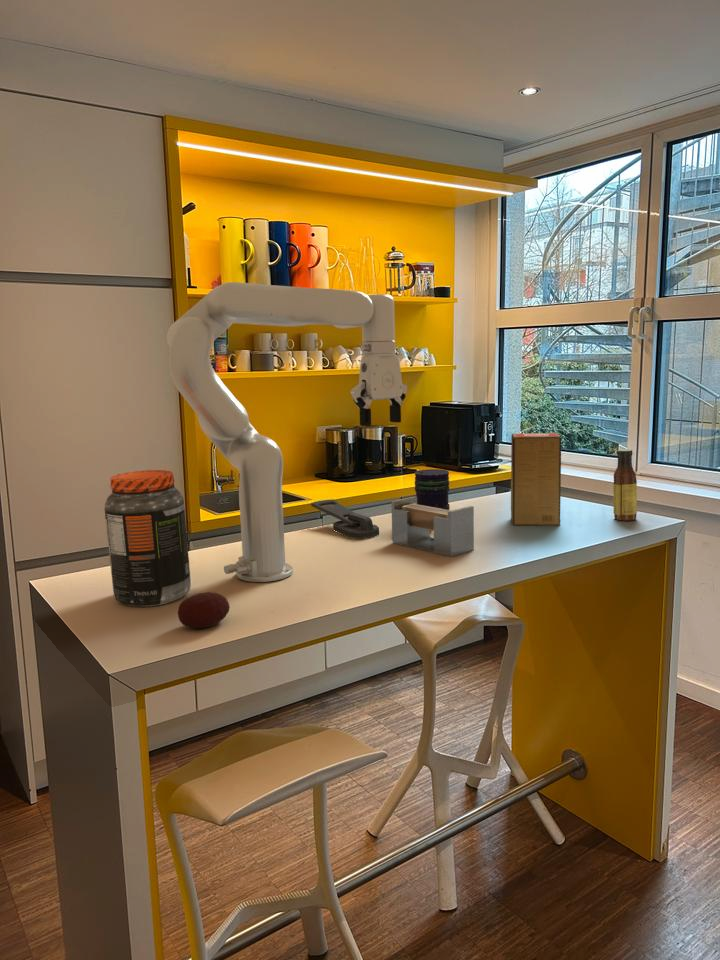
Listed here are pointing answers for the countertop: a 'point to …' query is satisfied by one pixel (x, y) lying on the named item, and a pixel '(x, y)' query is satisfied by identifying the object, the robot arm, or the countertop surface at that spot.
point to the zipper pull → (348, 520)
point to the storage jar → (432, 488)
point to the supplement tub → (147, 538)
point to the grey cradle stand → (448, 533)
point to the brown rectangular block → (424, 515)
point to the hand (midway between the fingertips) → (380, 423)
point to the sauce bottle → (625, 487)
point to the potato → (203, 610)
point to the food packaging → (535, 479)
